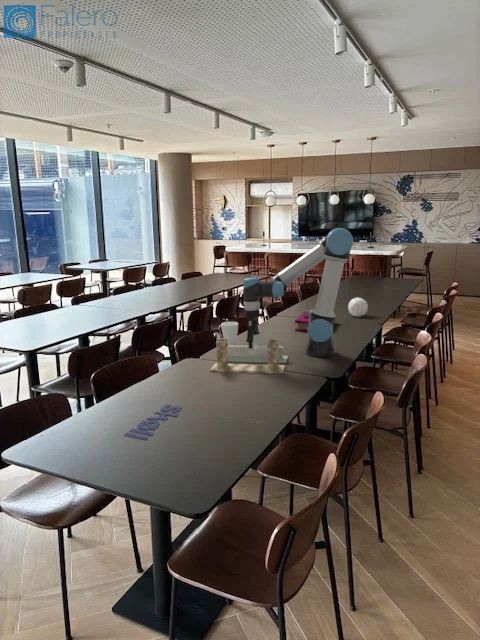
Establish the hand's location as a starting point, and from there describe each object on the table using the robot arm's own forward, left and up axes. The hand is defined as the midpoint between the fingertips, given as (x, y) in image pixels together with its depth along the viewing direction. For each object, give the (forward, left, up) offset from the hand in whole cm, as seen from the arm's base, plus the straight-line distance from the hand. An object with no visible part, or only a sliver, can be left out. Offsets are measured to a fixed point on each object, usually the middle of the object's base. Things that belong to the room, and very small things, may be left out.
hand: (253, 350), depth 238 cm
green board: (0, 0, -5) cm, 5 cm away
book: (-28, -74, -5) cm, 79 cm away
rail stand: (0, +16, -5) cm, 17 cm away
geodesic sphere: (-56, -108, -5) cm, 122 cm away
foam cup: (+17, -24, -5) cm, 30 cm away
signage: (+22, +77, -5) cm, 80 cm away
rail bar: (0, 0, -4) cm, 4 cm away
